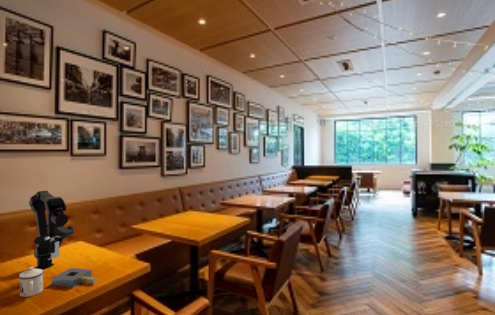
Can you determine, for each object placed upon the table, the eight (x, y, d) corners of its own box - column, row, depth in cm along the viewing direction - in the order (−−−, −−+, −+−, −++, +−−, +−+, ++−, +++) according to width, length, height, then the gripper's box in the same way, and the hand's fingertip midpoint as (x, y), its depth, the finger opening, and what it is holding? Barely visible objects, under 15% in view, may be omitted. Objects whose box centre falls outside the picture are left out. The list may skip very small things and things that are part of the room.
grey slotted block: (51, 285, 139) (51, 278, 139) (71, 274, 151) (71, 267, 151) (86, 289, 135) (86, 282, 135) (103, 277, 147) (103, 271, 147)
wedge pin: (50, 257, 148) (50, 242, 147) (55, 255, 150) (55, 240, 150) (55, 258, 147) (55, 242, 147) (59, 256, 150) (59, 241, 149)
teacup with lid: (19, 291, 133) (18, 266, 133) (43, 285, 139) (43, 261, 138) (18, 302, 123) (17, 276, 123) (44, 296, 129) (43, 270, 128)
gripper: (52, 228, 137) (52, 260, 138) (82, 218, 156) (82, 247, 156) (32, 226, 140) (33, 258, 140) (64, 217, 158) (64, 245, 158)
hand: (55, 252), depth 149 cm, fingers closed on wedge pin, 3 cm apart
